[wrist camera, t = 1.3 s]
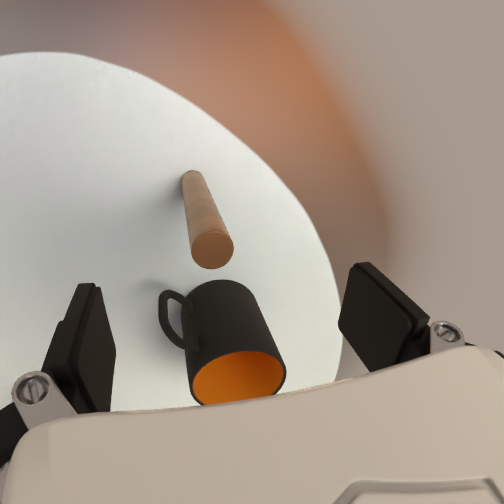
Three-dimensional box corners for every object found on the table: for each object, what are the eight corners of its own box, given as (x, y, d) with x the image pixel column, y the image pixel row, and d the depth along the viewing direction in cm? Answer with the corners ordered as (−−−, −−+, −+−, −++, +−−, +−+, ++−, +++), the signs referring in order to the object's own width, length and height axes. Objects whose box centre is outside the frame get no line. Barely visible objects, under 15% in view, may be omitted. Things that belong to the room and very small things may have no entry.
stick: (180, 170, 26) (190, 232, 14) (203, 169, 27) (234, 229, 14) (181, 192, 27) (191, 271, 15) (203, 191, 27) (233, 268, 15)
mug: (185, 243, 29) (194, 309, 20) (271, 303, 35) (305, 370, 26) (136, 302, 31) (130, 377, 22) (223, 350, 36) (242, 420, 27)
